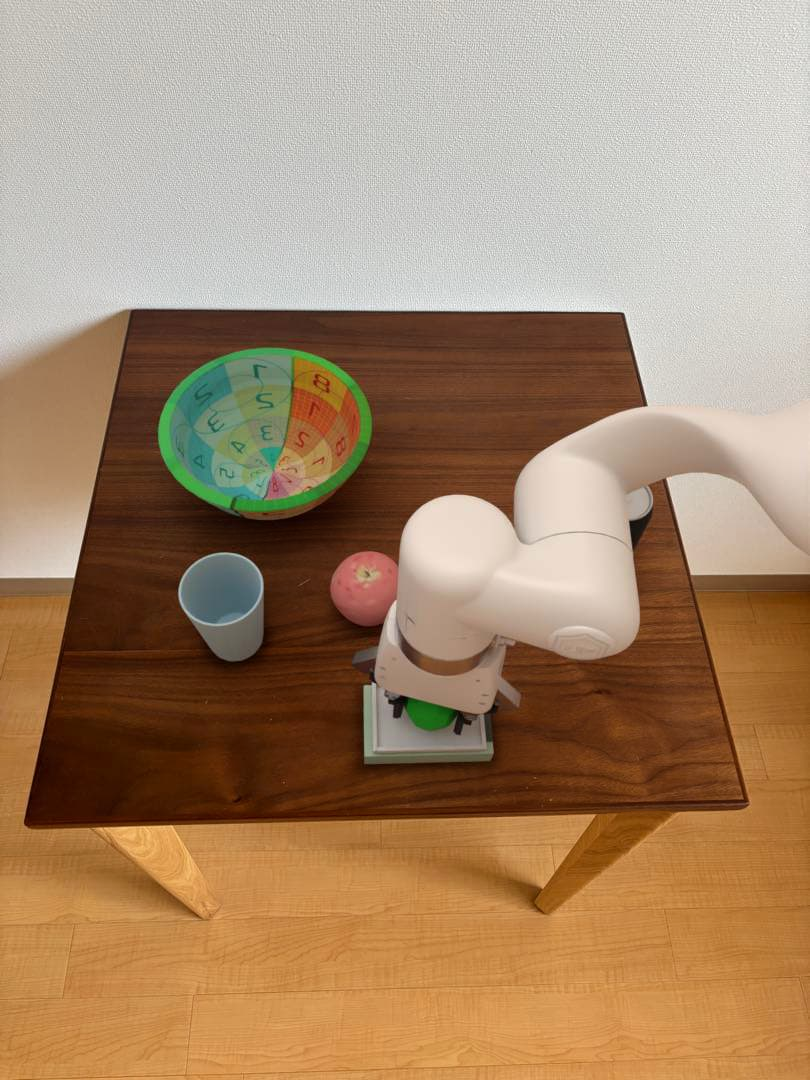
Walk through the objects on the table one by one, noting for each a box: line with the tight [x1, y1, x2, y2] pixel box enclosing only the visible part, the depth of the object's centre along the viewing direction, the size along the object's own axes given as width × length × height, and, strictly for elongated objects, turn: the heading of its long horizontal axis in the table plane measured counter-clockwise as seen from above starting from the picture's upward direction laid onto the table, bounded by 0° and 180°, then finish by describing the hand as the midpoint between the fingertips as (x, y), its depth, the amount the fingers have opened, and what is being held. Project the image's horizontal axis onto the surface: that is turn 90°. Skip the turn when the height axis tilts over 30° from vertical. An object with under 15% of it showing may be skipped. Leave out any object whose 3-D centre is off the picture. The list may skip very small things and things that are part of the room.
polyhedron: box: [404, 696, 459, 731], centre depth 74 cm, size 5×5×5 cm
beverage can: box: [626, 485, 654, 552], centre depth 85 cm, size 7×7×12 cm
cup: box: [178, 552, 265, 662], centre depth 79 cm, size 8×8×10 cm
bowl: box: [157, 347, 373, 521], centre depth 90 cm, size 22×22×10 cm
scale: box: [363, 681, 495, 765], centre depth 77 cm, size 12×7×4 cm, turn 92°
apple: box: [329, 550, 399, 627], centre depth 82 cm, size 7×7×8 cm
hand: (430, 710), depth 75 cm, fingers closed on polyhedron, 5 cm apart
